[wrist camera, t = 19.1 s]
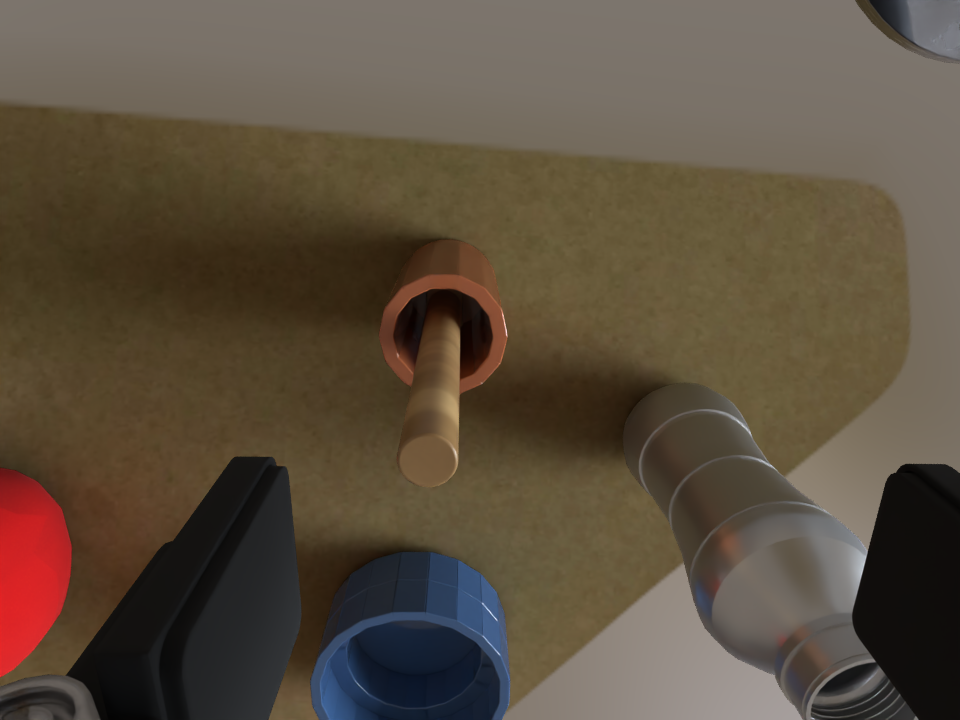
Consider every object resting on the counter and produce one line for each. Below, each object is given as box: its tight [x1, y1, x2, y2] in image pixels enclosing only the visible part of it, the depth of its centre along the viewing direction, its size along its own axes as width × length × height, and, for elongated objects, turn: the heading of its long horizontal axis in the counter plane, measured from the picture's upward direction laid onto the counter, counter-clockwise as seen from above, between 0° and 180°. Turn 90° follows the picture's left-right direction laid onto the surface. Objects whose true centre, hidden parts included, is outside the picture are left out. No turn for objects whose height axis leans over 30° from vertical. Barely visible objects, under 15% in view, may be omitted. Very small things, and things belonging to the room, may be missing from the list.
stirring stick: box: [397, 289, 463, 487], centre depth 26 cm, size 2×2×19 cm
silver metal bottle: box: [623, 383, 918, 720], centre depth 29 cm, size 6×7×20 cm
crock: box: [379, 239, 508, 394], centre depth 31 cm, size 5×5×9 cm
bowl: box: [310, 552, 510, 720], centre depth 40 cm, size 11×11×6 cm
